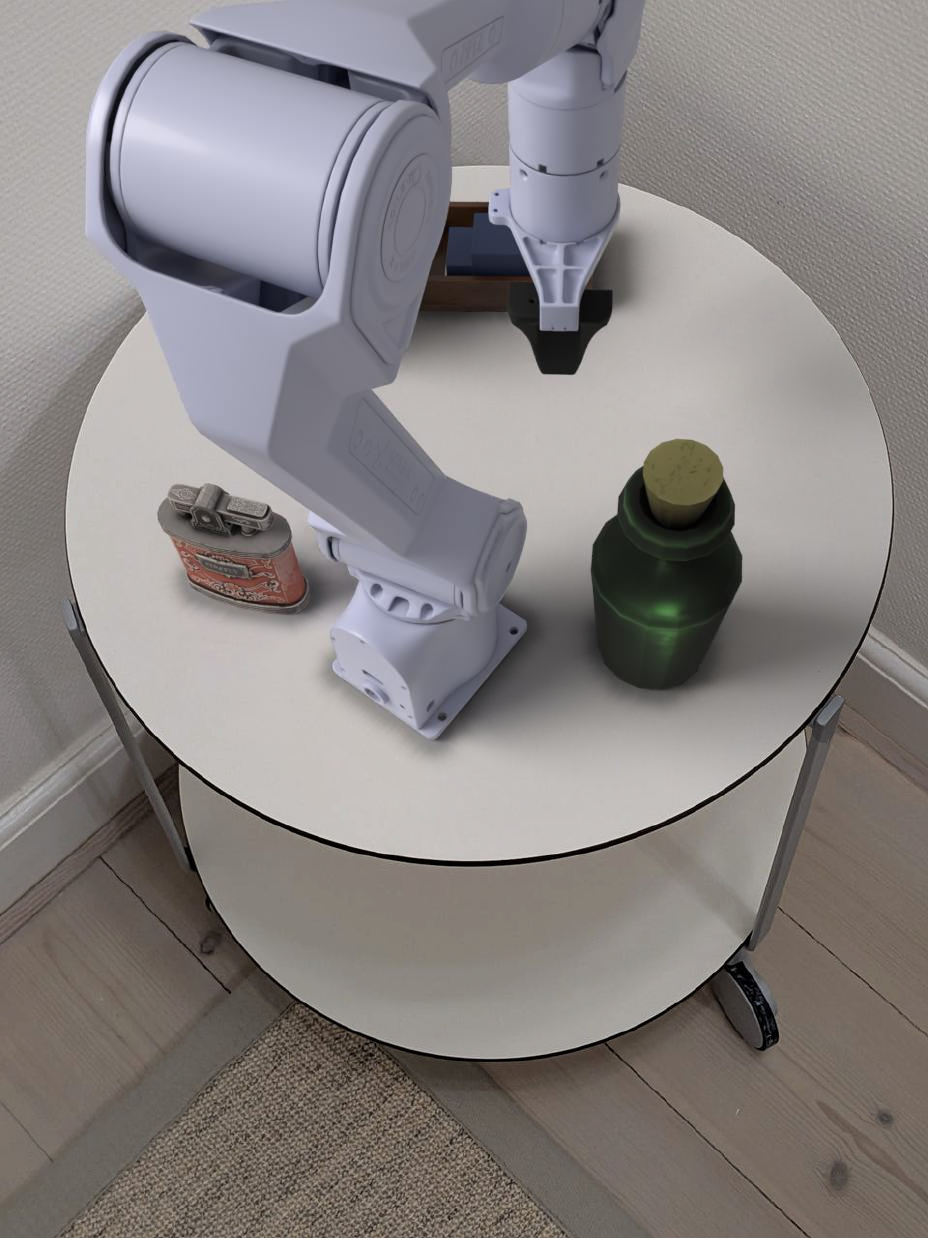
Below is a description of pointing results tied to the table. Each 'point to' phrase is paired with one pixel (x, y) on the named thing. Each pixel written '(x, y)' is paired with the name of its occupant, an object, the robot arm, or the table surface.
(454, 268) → the chalkboard eraser
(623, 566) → the potion bottle
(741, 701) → the table surface
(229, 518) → the lighter
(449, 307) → the tray
